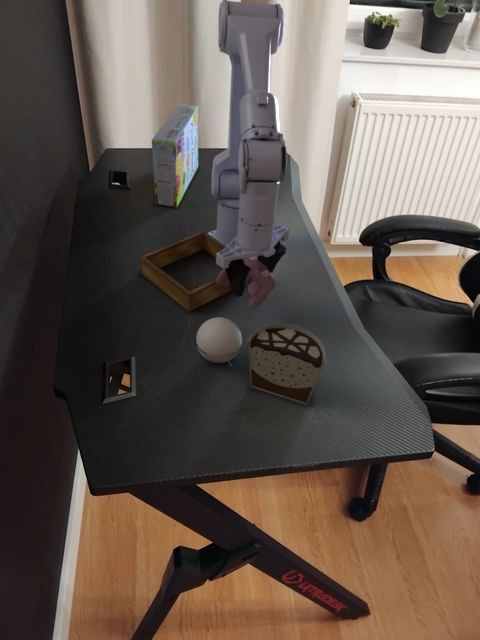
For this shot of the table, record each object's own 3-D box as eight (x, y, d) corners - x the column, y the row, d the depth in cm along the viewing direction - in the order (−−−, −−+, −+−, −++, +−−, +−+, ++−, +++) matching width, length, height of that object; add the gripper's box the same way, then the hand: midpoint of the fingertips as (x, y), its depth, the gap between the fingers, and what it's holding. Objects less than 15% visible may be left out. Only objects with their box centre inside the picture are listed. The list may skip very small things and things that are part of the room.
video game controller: (267, 310, 98) (284, 274, 95) (251, 310, 94) (268, 273, 92) (228, 283, 102) (243, 248, 100) (212, 282, 99) (227, 245, 96)
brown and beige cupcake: (326, 381, 91) (337, 335, 84) (316, 408, 87) (327, 361, 80) (254, 359, 93) (260, 312, 86) (241, 384, 89) (245, 336, 82)
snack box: (177, 164, 141) (176, 102, 131) (199, 167, 141) (200, 106, 131) (153, 205, 126) (150, 138, 116) (178, 209, 126) (177, 142, 115)
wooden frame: (203, 247, 116) (203, 230, 113) (251, 280, 109) (253, 263, 106) (141, 273, 107) (139, 256, 104) (189, 311, 100) (189, 294, 98)
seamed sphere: (192, 342, 95) (193, 308, 90) (236, 340, 96) (239, 306, 91) (199, 386, 88) (200, 352, 83) (246, 383, 89) (250, 349, 84)
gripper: (240, 243, 82) (234, 315, 91) (306, 213, 90) (295, 282, 99) (208, 222, 85) (205, 294, 95) (275, 195, 93) (267, 264, 103)
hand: (249, 287), depth 97 cm, fingers closed on video game controller, 6 cm apart
